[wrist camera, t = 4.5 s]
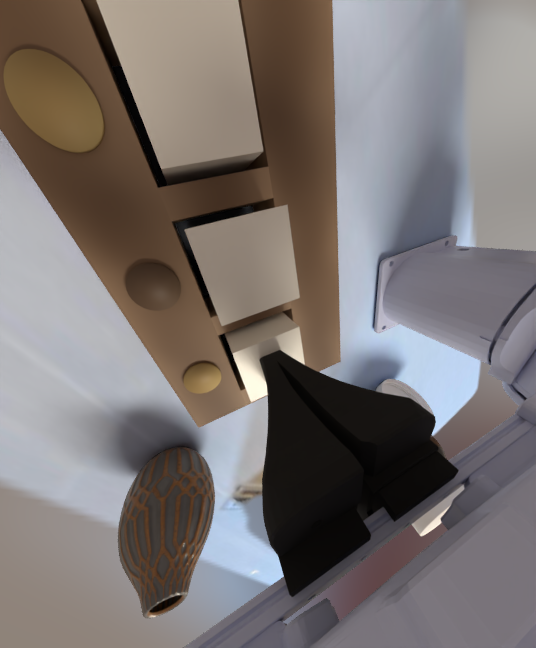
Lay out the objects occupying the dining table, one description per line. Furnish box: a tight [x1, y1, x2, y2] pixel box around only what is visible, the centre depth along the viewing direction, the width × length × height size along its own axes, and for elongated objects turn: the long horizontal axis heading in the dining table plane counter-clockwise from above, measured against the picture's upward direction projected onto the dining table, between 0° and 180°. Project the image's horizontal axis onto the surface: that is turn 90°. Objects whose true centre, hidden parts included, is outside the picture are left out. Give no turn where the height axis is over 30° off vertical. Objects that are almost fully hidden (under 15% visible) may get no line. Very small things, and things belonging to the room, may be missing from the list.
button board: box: [0, 0, 340, 427], centre depth 11 cm, size 12×20×4 cm, turn 13°
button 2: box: [225, 312, 305, 402], centre depth 13 cm, size 4×4×4 cm
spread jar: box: [376, 379, 464, 536], centre depth 24 cm, size 12×11×12 cm
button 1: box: [96, 0, 263, 186], centre depth 8 cm, size 4×4×4 cm
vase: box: [118, 447, 215, 618], centre depth 15 cm, size 7×7×9 cm
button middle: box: [185, 205, 300, 326], centre depth 10 cm, size 4×4×4 cm
